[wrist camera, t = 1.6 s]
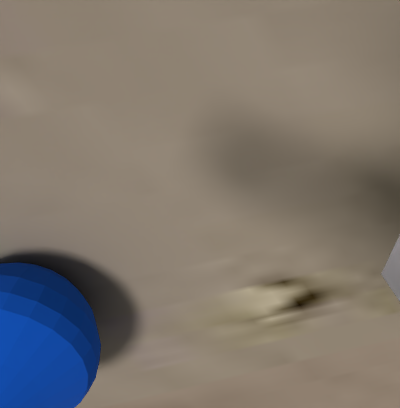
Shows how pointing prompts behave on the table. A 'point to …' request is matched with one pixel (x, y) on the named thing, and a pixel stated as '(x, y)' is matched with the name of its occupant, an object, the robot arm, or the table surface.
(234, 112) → the table surface
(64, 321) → the vase
